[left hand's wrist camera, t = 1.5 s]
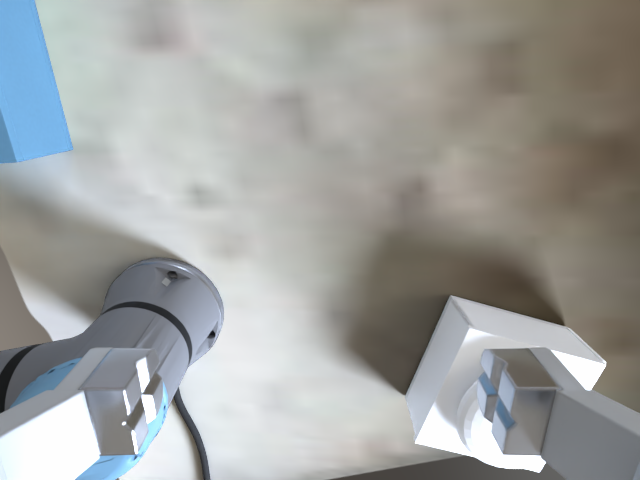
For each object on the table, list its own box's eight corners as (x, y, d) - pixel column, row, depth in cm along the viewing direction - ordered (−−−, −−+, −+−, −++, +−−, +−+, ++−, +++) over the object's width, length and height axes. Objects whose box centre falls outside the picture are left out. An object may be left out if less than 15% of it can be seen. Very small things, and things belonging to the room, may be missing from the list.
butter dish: (513, 423, 63) (574, 527, 48) (401, 396, 61) (428, 494, 46) (568, 326, 57) (656, 409, 42) (447, 292, 56) (494, 366, 40)
